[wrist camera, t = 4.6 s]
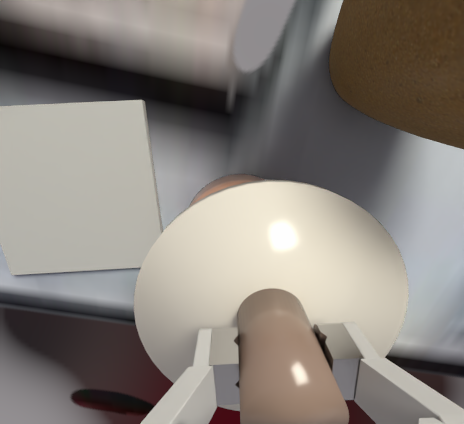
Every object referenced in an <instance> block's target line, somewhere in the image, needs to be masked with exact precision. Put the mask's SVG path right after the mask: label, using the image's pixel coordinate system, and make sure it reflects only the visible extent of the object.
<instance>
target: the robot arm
mask: <svg viewBox="0 0 464 424" xmlns="http://www.w3.org/2000/svg"><path fill="white" fill-rule="evenodd" d="M313 330H314V333H315V335H316V337H317V339H318V342H319V344H320V346H321V348H322V351H323V353H324V355H325V358H326V360H327V362H328V364H329V367H330V369H331V371H332V373H333V376H334V378H335V380H336V382H337V385H338V387H339V389H340V392H341V394H342V396H343V398H344V400H355V402H356V403H357V404H358V405H359V406H360V407H361V408H362V409H363V410H364V411H365V412H366V413H367V414H368V415H369V416H370V417H371V418H372V420H373V421H374V422H375V423H376V424H464V409H462V408H461V407H459V406H458V405H456V404H455V403H453V402H452V401H450V400H449V399H447V398H446V397H444V396H443V395H441V394H439V393H438V392H436V391H435V390H433V389H432V388H430V387H429V386H427V385H426V384H424V383H422V382H421V381H419V380H418V379H416V378H415V377H413V376H412V375H410V374H409V373H407V372H406V371H404V370H403V369H401V368H399V367H398V366H396V365H395V364H393V363H392V362H390V361H389V360H387V359H386V358H380V356H379V355H378V354H377V352H376V351H375V349H374V348H373V347H372V345H371V344H370V342H369V341H368V339H367V338H366V337H365V335H364V334H363V332H362V331H361V330H360V328H359V327H358V325H357V324H356V323H355V322H340V323H321V324H314V327H313ZM238 349H239V346H238V328H207V329H200V330H199V332H198V337H197V343H196V349H195V355H194V361H193V367H188V368H187V369H186V370H185V372H184V373H183V374H182V375H181V376H180V377H179V379H178V380H177V381H176V382H175V383H174V384H173V386H172V387H171V388H170V389H169V390H168V392H167V393H166V394H165V395H164V396H163V398H162V399H161V400H160V401H159V402H158V403H157V404H156V406H155V407H154V408H153V409H152V410H151V411H150V413H149V414H148V415H147V416H146V417H145V419H144V420H143V421H142V422H141V423H140V424H208V423H209V422H210V420H211V418H212V416H213V414H214V412H215V410H216V408H217V406H219V405H232V404H240V396H239V379H240V374H239V351H238Z"/></svg>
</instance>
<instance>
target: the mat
mask: <svg viewBox="0 0 464 424" xmlns="http://www.w3.org/2000/svg"><path fill="white" fill-rule="evenodd" d="M162 232H163V228H162V221H161V214H160V207H159V200H158V193H157V186H156V179H155V172H154V164H153V157H152V150H151V143H150V136H149V129H148V122H147V115H146V108H145V101H143V100H128V101H106V102H85V103H63V104H42V105H20V106H0V244H1V247H2V249H3V252H4V255H5V258H6V261H7V264H8V266H9V269H10V272H11V275H23V274H39V273H56V272H73V271H90V270H107V269H124V268H140V267H141V266H142V264H143V261H144V260H145V258H146V256H147V254H148V252H149V250H150V249H151V247H152V246H153V244H154V243H155V242H156V240H157V239H158V238H159V236H160V235H161V234H162Z"/></svg>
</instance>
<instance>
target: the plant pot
mask: <svg viewBox="0 0 464 424" xmlns="http://www.w3.org/2000/svg"><path fill="white" fill-rule="evenodd" d="M329 70H330V77H331V80H332V83H333V86H334V88H335V90H336V91H337V93H338V95H339V96H340V97H341V98H342V99H343V100H344V101H345V102H346V103H348V104H349V105H351V106H352V107H354V108H355V109H357V110H358V111H360V112H362V113H364V114H366V115H367V116H369V117H371V118H373V119H375V120H378V121H380V122H382V123H384V124H387V125H389V126H392V127H395V128H397V129H400V130H402V131H405V132H408V133H411V134H414V135H417V136H420V137H423V138H426V139H430V140H433V141H436V142H440V143H443V144H447V145H450V146H454V147H457V148H461V149H464V0H343V3H342V6H341V10H340V13H339V16H338V20H337V23H336V27H335V31H334V35H333V39H332V44H331V49H330V56H329Z"/></svg>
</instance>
